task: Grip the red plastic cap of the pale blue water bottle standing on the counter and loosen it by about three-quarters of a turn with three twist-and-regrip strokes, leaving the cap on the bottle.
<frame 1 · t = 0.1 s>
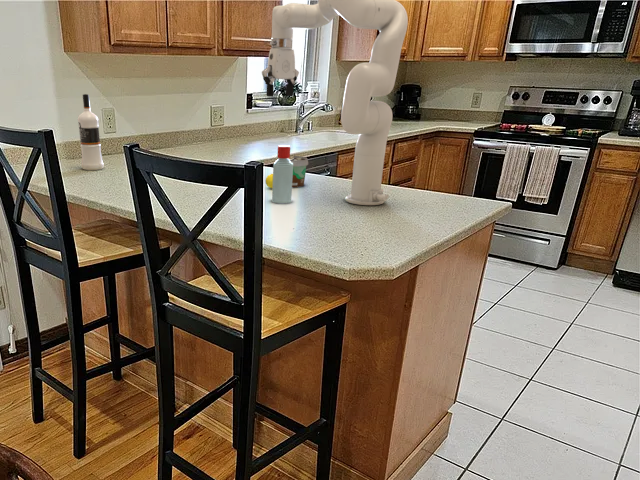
hand: (279, 95, 196), 31 cm above the breakfast bar, tool pointing down, fingers open, 9 cm apart
bottle: (281, 201, 175), on the breakfast bar
lemon: (273, 189, 193), on the breakfast bar
vodka: (93, 169, 226), on the breakfast bar
food container: (298, 185, 199), on the breakfast bar
cap: (284, 146, 167), point 18 cm above the breakfast bar, screwed on, not yet turned
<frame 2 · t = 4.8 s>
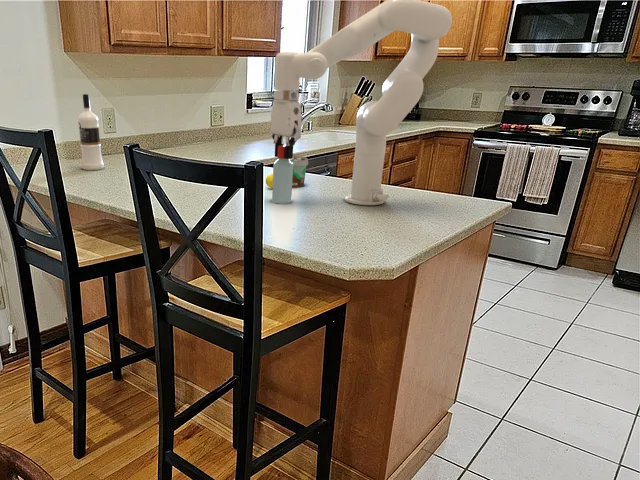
hand: (283, 156, 169), 15 cm above the breakfast bar, tool pointing down, fingers closed on cap, 3 cm apart
cap: (284, 146, 167), point 18 cm above the breakfast bar, screwed on, not yet turned, touching gripper
everything else where it was.
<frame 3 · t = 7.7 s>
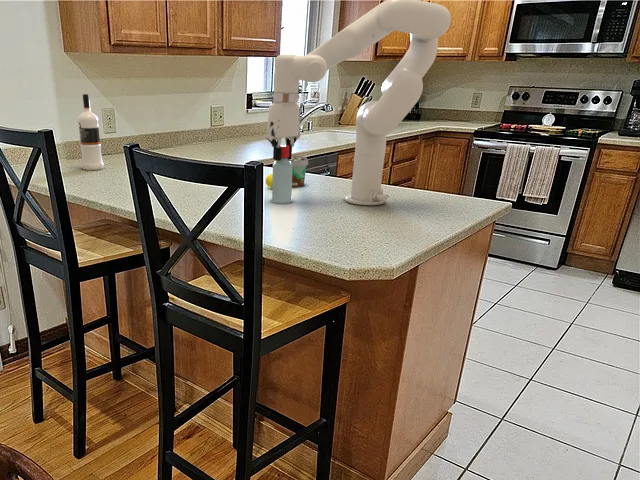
hand: (282, 159, 169), 14 cm above the breakfast bar, tool pointing down, fingers closed on cap, 3 cm apart
bottle: (281, 201, 175), on the breakfast bar, touching gripper
cap: (283, 146, 167), point 18 cm above the breakfast bar, turned 90° so far, risen 0.1 cm, still on its thread, touching gripper
everything else where it was.
when the fingers open (14 cm above the breakfast bar, at t = 13.8 s): cap stays where it is, point 18 cm above the breakfast bar.
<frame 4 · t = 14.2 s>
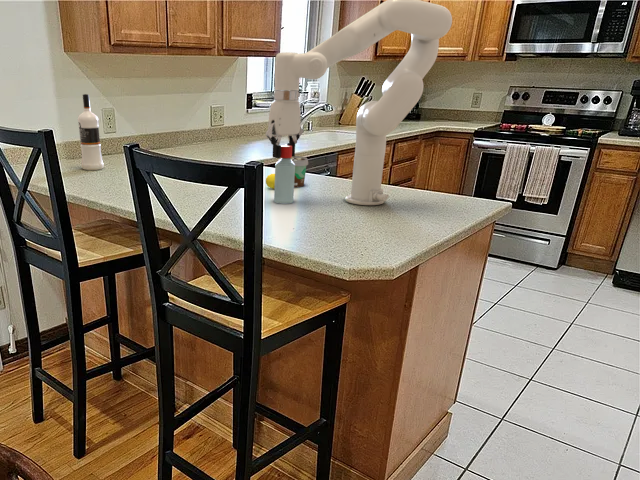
hand: (283, 156, 169), 15 cm above the breakfast bar, tool pointing down, fingers open, 5 cm apart
bottle: (283, 201, 174), on the breakfast bar
cap: (286, 146, 167), point 18 cm above the breakfast bar, turned 89° so far, risen 0.1 cm, still on its thread
everything else where it was.
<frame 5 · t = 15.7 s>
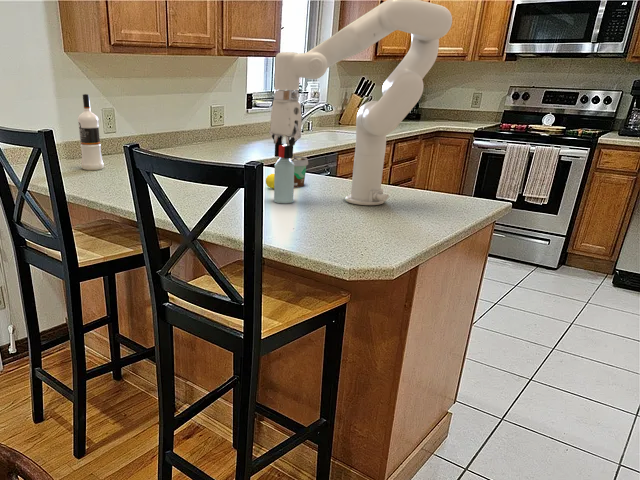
hand: (283, 156, 169), 15 cm above the breakfast bar, tool pointing down, fingers closed on cap, 3 cm apart
cap: (285, 146, 168), point 18 cm above the breakfast bar, turned 89° so far, risen 0.1 cm, still on its thread, touching gripper
everything else where it was.
when the fingers open (15 cm above the breakfast bar, at t = 18.2 s): cap moves 1 cm, point 18 cm above the breakfast bar.
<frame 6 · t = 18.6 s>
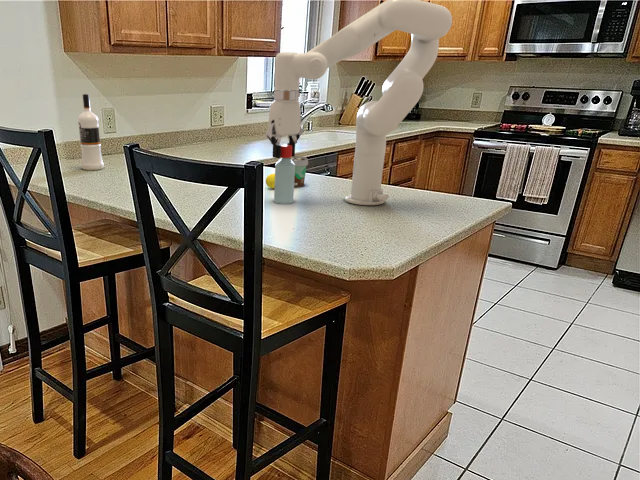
hand: (283, 156, 169), 15 cm above the breakfast bar, tool pointing down, fingers open, 5 cm apart
cap: (286, 146, 167), point 18 cm above the breakfast bar, turned 180° so far, risen 0.2 cm, still on its thread
everything else where it was.
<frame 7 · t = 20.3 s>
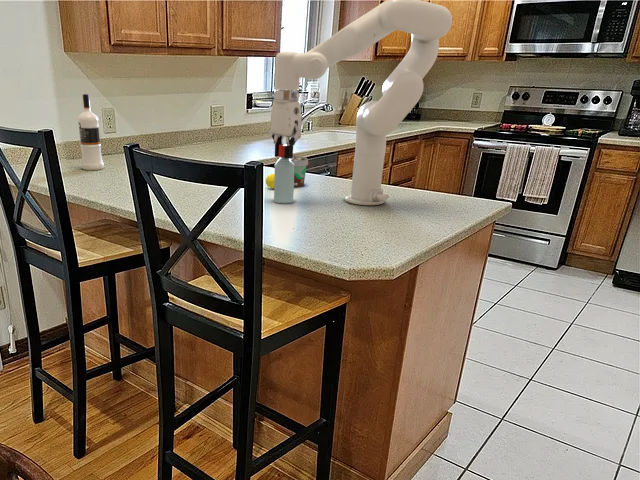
hand: (283, 156, 169), 15 cm above the breakfast bar, tool pointing down, fingers closed on cap, 3 cm apart
cap: (285, 146, 168), point 18 cm above the breakfast bar, turned 180° so far, risen 0.2 cm, still on its thread, touching gripper
everything else where it was.
when the fingers open (15 cm above the breakfast bar, at t = 22.0 s): cap moves 1 cm, point 18 cm above the breakfast bar.
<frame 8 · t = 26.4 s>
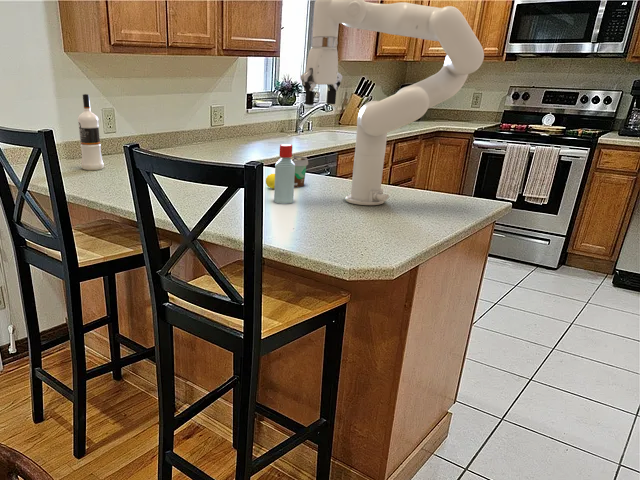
hand: (320, 104, 166), 30 cm above the breakfast bar, tool pointing down, fingers open, 9 cm apart
cap: (286, 146, 167), point 18 cm above the breakfast bar, turned 270° so far, risen 0.3 cm, still on its thread
everything else where it was.
at the end: cap turned 0.75 turns (still on its thread); cap is still on its thread (0.75 turns); bottle tilted 0° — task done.
